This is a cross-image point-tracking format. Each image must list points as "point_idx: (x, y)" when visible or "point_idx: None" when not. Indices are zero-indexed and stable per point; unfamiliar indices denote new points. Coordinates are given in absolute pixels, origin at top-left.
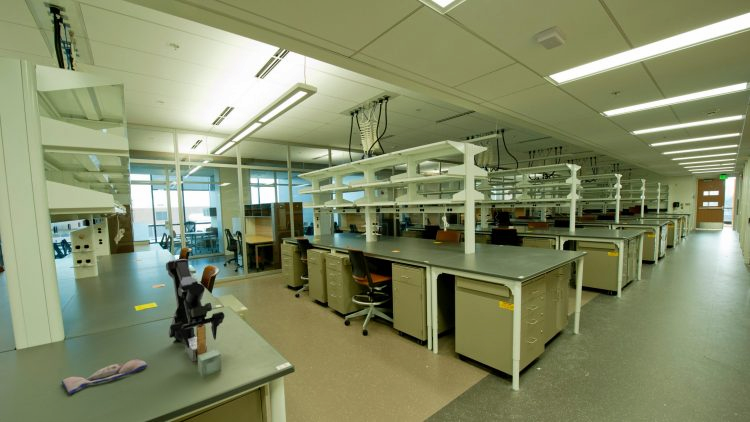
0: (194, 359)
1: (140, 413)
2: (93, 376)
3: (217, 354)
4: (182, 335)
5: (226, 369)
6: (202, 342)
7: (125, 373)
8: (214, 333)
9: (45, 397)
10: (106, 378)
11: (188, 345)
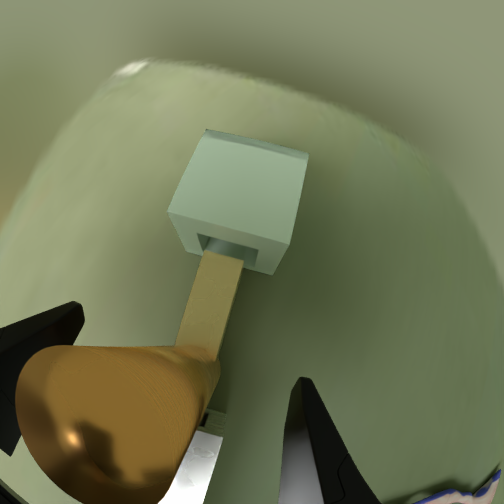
0: (217, 414)
1: (460, 206)
2: None
3: (216, 139)
4: (366, 496)
5: None
6: (179, 348)
7: (429, 500)
8: (45, 323)
9: (500, 491)
10: (459, 496)
11: (311, 385)
